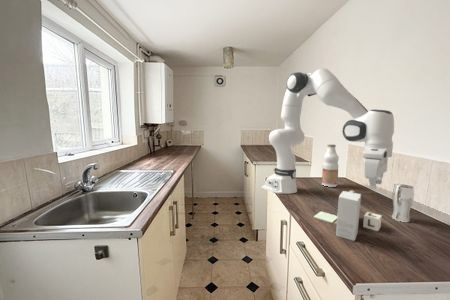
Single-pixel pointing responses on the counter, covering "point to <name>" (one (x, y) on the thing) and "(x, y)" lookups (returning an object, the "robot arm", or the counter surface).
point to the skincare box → (348, 215)
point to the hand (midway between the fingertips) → (375, 186)
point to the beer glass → (402, 201)
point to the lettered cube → (372, 221)
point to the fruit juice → (330, 167)
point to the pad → (326, 217)
